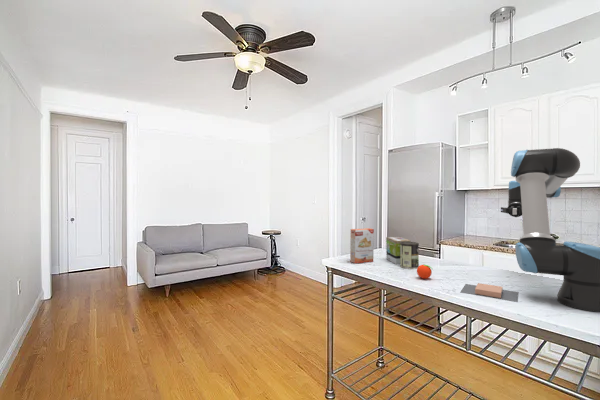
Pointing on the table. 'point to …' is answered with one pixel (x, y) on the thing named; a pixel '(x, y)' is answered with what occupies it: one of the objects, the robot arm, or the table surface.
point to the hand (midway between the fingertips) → (514, 211)
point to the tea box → (394, 248)
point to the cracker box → (362, 245)
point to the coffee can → (409, 255)
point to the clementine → (424, 271)
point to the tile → (489, 290)
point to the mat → (505, 296)
